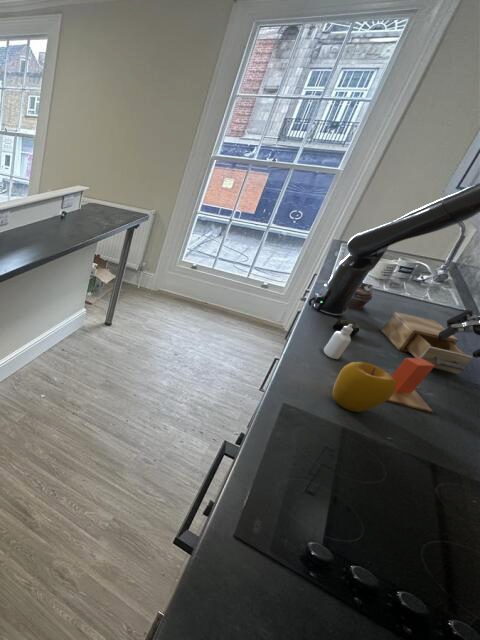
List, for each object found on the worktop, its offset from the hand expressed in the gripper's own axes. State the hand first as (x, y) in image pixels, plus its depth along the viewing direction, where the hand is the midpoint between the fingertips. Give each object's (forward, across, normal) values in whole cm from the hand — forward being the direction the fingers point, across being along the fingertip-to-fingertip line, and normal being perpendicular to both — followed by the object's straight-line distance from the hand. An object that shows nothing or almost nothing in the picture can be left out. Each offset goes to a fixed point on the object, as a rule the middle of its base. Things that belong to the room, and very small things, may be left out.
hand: (456, 346), depth 112 cm
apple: (+34, +6, -11) cm, 36 cm away
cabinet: (-8, -25, +30) cm, 40 cm away
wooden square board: (+18, 0, +5) cm, 19 cm away
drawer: (-4, -14, +25) cm, 29 cm away
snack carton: (+16, 0, +5) cm, 17 cm away
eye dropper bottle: (+20, -18, +2) cm, 27 cm away
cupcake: (-13, -55, +36) cm, 67 cm away
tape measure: (+7, -32, +16) cm, 36 cm away
